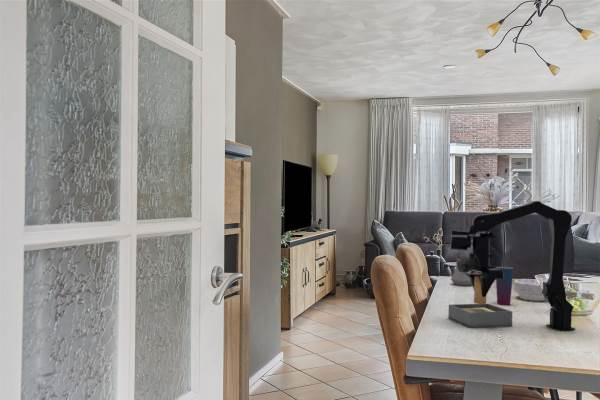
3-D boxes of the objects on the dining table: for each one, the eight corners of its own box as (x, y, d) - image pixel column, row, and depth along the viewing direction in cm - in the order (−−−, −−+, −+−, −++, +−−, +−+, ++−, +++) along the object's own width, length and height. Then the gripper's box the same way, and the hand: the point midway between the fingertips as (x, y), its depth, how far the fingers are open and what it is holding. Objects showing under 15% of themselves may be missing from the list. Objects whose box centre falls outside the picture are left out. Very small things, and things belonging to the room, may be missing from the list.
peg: (488, 303, 183) (488, 277, 183) (478, 304, 182) (478, 277, 182) (481, 301, 186) (482, 275, 186) (471, 301, 185) (472, 276, 185)
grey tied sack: (451, 282, 274) (452, 253, 274) (474, 284, 270) (475, 254, 270) (449, 289, 254) (449, 257, 254) (474, 290, 250) (475, 259, 250)
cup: (514, 306, 214) (514, 269, 214) (496, 305, 215) (497, 268, 215) (510, 303, 221) (511, 267, 221) (493, 302, 222) (494, 266, 222)
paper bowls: (530, 303, 221) (530, 284, 221) (506, 296, 236) (506, 279, 236) (560, 302, 225) (560, 283, 225) (535, 295, 240) (535, 278, 240)
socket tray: (512, 326, 179) (512, 311, 179) (469, 328, 175) (470, 313, 175) (488, 317, 193) (488, 303, 193) (448, 318, 189) (448, 304, 189)
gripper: (446, 248, 191) (445, 291, 191) (475, 253, 173) (474, 301, 173) (473, 248, 194) (473, 290, 194) (505, 253, 176) (504, 300, 176)
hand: (480, 295), depth 184 cm, fingers closed on peg, 4 cm apart
